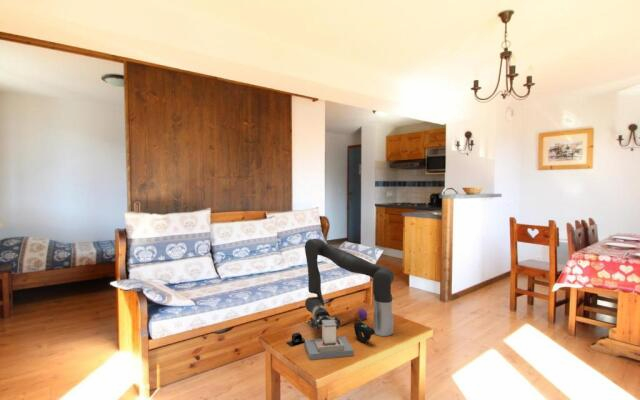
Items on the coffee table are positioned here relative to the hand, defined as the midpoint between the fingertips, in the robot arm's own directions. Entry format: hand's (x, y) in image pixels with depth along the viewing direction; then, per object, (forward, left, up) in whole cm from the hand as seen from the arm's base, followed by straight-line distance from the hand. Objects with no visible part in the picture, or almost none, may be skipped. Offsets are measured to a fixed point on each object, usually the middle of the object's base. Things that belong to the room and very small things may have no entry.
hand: (328, 328), depth 156 cm
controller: (-19, -4, -10) cm, 22 cm away
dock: (0, +1, -10) cm, 10 cm away
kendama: (-21, -28, -11) cm, 37 cm away
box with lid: (0, +2, -7) cm, 8 cm away
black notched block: (+13, -10, -11) cm, 20 cm away
